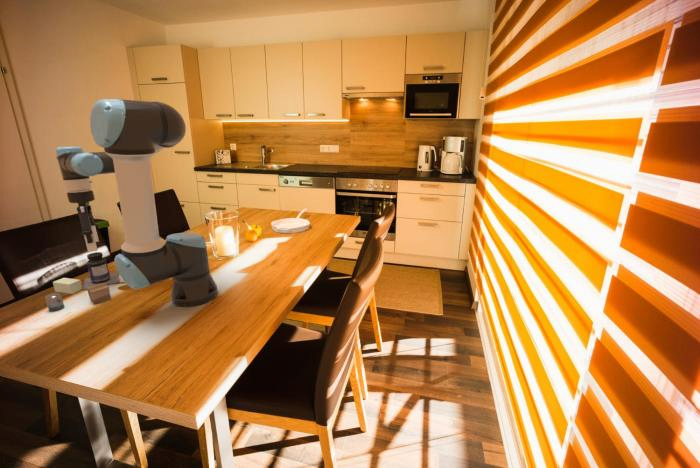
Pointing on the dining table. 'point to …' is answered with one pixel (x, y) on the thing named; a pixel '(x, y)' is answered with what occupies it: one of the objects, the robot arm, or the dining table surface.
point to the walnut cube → (99, 293)
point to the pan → (291, 224)
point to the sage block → (67, 285)
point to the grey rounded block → (54, 302)
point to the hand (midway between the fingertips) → (93, 246)
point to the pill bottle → (97, 268)
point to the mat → (113, 280)
